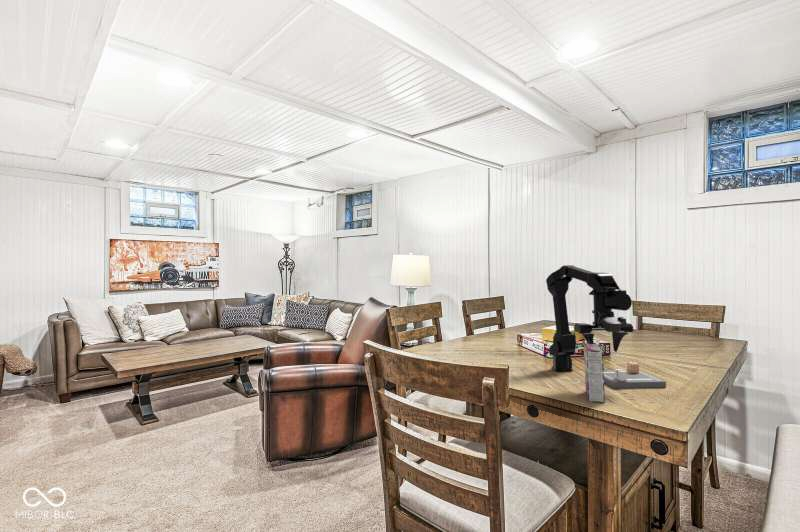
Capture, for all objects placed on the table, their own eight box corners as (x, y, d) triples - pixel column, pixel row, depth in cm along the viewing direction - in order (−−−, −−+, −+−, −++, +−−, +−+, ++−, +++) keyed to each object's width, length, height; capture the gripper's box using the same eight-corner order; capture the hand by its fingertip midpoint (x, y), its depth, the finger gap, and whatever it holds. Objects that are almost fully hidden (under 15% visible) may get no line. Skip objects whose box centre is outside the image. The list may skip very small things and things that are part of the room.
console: (614, 388, 139) (613, 382, 139) (592, 376, 155) (592, 370, 155) (666, 387, 139) (666, 381, 139) (639, 375, 155) (639, 369, 155)
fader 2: (632, 372, 150) (632, 364, 150) (627, 370, 154) (627, 361, 154) (639, 372, 150) (639, 364, 150) (633, 370, 154) (633, 361, 154)
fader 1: (620, 380, 141) (619, 371, 141) (614, 378, 144) (614, 368, 144) (627, 380, 140) (626, 371, 141) (621, 377, 144) (621, 368, 144)
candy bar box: (584, 391, 137) (583, 343, 137) (600, 392, 135) (599, 344, 135) (587, 401, 126) (586, 349, 126) (605, 403, 124) (603, 350, 125)
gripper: (586, 311, 135) (588, 357, 134) (642, 309, 135) (643, 356, 134) (572, 308, 146) (574, 350, 146) (623, 306, 146) (625, 349, 146)
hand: (603, 351), depth 143 cm, fingers open, 8 cm apart
